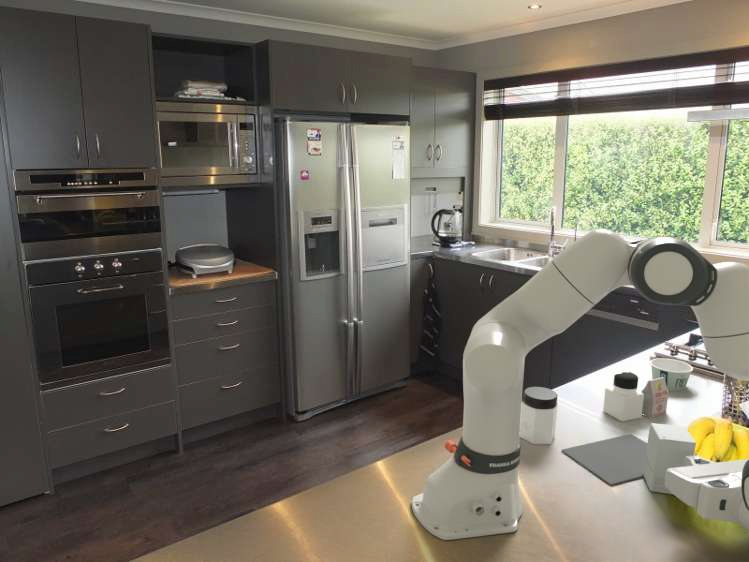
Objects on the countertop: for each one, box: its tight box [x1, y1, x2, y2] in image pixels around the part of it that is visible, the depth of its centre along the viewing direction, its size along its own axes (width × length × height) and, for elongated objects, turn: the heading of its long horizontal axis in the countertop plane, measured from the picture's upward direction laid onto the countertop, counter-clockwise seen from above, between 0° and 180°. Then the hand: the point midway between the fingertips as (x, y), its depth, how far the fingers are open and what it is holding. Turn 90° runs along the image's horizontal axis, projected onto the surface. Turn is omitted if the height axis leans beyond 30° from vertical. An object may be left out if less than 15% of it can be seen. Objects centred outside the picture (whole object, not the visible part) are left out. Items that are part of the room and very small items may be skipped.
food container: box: [649, 357, 694, 391], centre depth 182 cm, size 12×12×6 cm
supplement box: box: [642, 422, 697, 495], centre depth 126 cm, size 7×7×13 cm
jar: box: [519, 386, 558, 445], centre depth 147 cm, size 9×8×12 cm
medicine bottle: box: [602, 370, 644, 423], centre depth 160 cm, size 7×7×12 cm
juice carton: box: [640, 377, 669, 418], centre depth 162 cm, size 4×7×10 cm, turn 119°
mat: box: [561, 433, 648, 487], centre depth 138 cm, size 22×16×1 cm
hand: (689, 458), depth 119 cm, fingers closed
